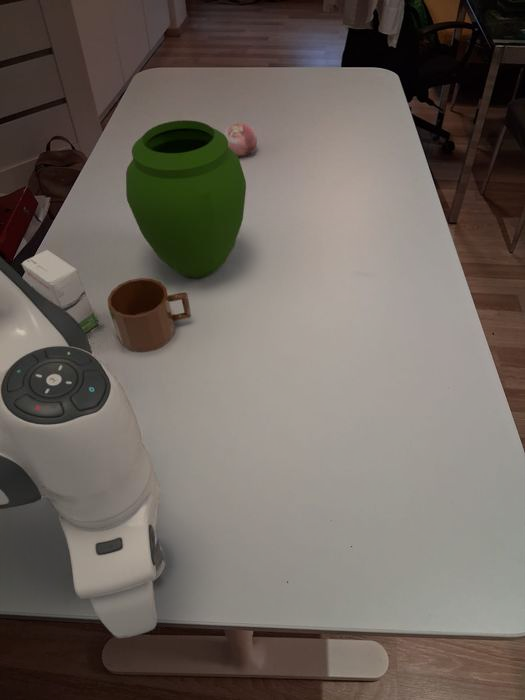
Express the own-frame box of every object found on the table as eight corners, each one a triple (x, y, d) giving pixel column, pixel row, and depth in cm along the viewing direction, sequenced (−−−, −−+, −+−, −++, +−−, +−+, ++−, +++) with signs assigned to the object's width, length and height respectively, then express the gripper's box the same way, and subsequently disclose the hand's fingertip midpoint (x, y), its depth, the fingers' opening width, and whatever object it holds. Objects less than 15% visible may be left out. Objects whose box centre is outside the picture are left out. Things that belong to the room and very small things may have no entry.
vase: (220, 311, 90) (203, 178, 72) (124, 283, 96) (86, 154, 78) (268, 247, 102) (263, 119, 84) (180, 225, 108) (158, 102, 90)
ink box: (99, 324, 89) (79, 268, 80) (74, 341, 86) (50, 284, 78) (69, 302, 93) (46, 246, 84) (44, 318, 91) (18, 261, 82)
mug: (121, 357, 84) (109, 322, 78) (117, 318, 90) (106, 284, 84) (196, 341, 85) (190, 306, 80) (188, 305, 91) (181, 270, 86)
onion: (219, 158, 127) (216, 128, 121) (231, 143, 132) (228, 114, 126) (251, 162, 125) (250, 132, 120) (262, 147, 130) (260, 117, 125)
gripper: (73, 410, 56) (106, 478, 66) (74, 614, 42) (116, 660, 52) (134, 397, 56) (157, 466, 66) (155, 592, 43) (181, 642, 53)
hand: (139, 553), depth 59 cm, fingers closed on pill bottle, 5 cm apart
